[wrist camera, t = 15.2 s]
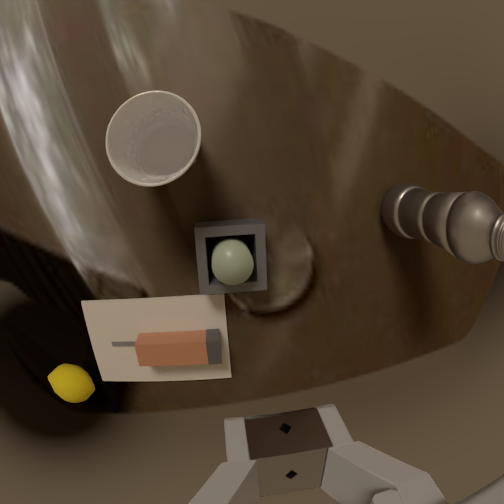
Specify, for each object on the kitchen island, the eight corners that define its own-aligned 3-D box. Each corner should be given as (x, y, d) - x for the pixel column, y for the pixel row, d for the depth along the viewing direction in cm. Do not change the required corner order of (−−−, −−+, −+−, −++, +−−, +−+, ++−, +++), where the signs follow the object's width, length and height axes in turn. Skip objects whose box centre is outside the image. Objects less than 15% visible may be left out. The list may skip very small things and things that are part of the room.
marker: (143, 353, 38) (139, 367, 35) (139, 332, 37) (133, 345, 34) (221, 350, 39) (222, 363, 36) (219, 328, 38) (219, 341, 35)
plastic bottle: (388, 243, 39) (501, 299, 19) (365, 198, 37) (486, 227, 18) (423, 217, 38) (541, 253, 19) (403, 172, 37) (527, 183, 17)
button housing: (201, 282, 37) (200, 295, 33) (196, 222, 35) (194, 228, 31) (261, 277, 38) (267, 289, 34) (259, 217, 36) (264, 223, 32)
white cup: (201, 185, 34) (196, 189, 25) (131, 181, 33) (101, 184, 24) (208, 114, 33) (206, 92, 23) (138, 111, 32) (111, 90, 22)
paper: (103, 379, 39) (102, 381, 38) (81, 300, 36) (80, 301, 36) (231, 376, 41) (231, 377, 40) (224, 292, 38) (224, 294, 37)
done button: (213, 271, 36) (213, 286, 31) (210, 236, 35) (210, 246, 30) (249, 268, 36) (254, 283, 32) (247, 233, 35) (252, 243, 31)
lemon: (99, 363, 39) (92, 387, 34) (96, 391, 40) (91, 415, 35) (52, 350, 37) (42, 373, 32) (53, 379, 38) (44, 402, 33)
